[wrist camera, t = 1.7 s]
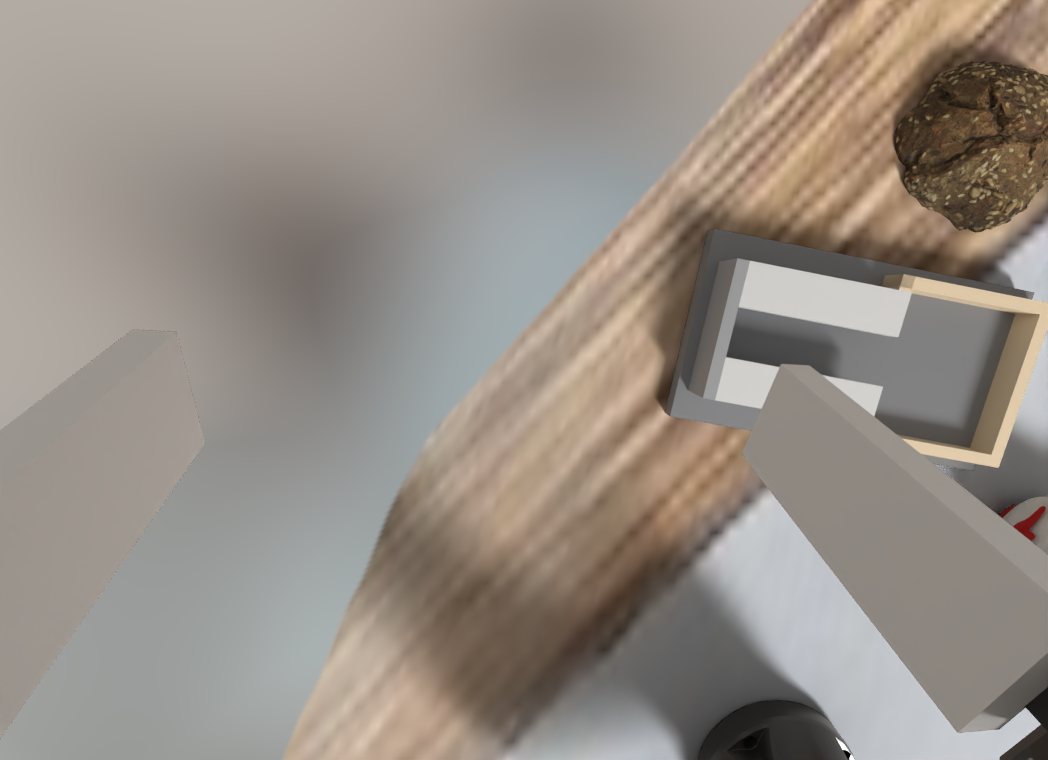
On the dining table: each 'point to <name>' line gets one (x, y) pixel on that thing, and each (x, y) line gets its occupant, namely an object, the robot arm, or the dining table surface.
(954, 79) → the bread roll
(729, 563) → the dining table surface
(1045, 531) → the white and red figurine
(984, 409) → the keyhole board
